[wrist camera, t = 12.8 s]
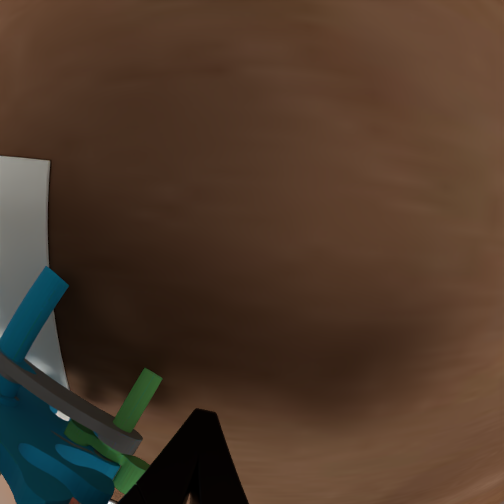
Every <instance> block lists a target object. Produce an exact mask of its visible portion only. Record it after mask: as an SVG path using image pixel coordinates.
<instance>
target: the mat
mask: <svg viewBox="0 0 504 504" xmlns="http://www.w3.org/2000/svg"><path fill="white" fill-rule="evenodd" d="M49 172H50V161H48V160H40V159H30V158H20V157H10V156H0V338H1V336H2V334H3V333H4V331H5V329H6V327H7V326H8V324H9V322H10V320H11V319H12V317H13V315H14V314H15V312H16V310H17V309H18V307H19V305H20V304H21V302H22V301H23V299H24V297H25V296H26V294H27V293H28V291H29V290H30V288H31V287H32V285H33V284H34V282H35V281H36V279H37V278H38V276H39V275H40V273H41V272H42V270H43V269H44V268H45V266H47V267H49V256H48V187H49ZM25 359H27V360H28V361H29V362H30V363H32V364H33V365H34V366H36V367H37V368H38V369H40V370H41V371H42V372H44V373H45V374H46V375H48V376H49V377H51V378H52V379H54V380H55V381H56V382H58V383H59V384H61V385H62V386H64V387H65V388H67V389H68V390H70V389H69V385H68V381H67V377H66V373H65V369H64V365H63V360H62V356H61V351H60V346H59V340H58V335H57V329H56V323H55V316H54V310H53V311H52V313H51V314H50V316H49V317H48V319H47V321H46V322H45V324H44V325H43V327H42V329H41V330H40V332H39V334H38V335H37V337H36V339H35V341H34V342H33V344H32V346H31V347H30V349H29V351H28V353H27V355H26V356H25ZM56 415H57V416H58V417H60V418H61V419H63V420H66V421H69V419H70V417H68V416H66V415H65V414H63V413H61V412H60V411H57V413H56Z"/></svg>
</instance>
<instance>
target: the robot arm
mask: <svg viewBox="0 0 504 504" xmlns="http://www.w3.org/2000/svg"><path fill="white" fill-rule="evenodd" d="M189 494H190V504H249V503H248V500H247V498H246V495H245V493H244V490H243V487H242V485H241V482H240V480H239V477H238V474H237V472H236V469H235V466H234V463H233V460H232V458H231V455H230V452H229V449H228V446H227V443H226V440H225V437H224V434H223V431H222V428H221V425H220V422H219V419H218V416H217V414H216V413H215V412H213V411H208V410H203V409H199V408H196V409H195V410H194V411H193V412H192V413H191V415H190V416H189V417H188V419H187V420H186V421H185V422H184V424H183V425H182V426H181V428H180V429H179V430H178V431H177V433H176V434H175V435H174V437H173V438H172V439H171V440H170V442H169V443H168V444H167V445H166V447H165V448H164V449H163V450H162V452H161V453H160V454H159V455H158V456H157V458H156V459H155V460H154V461H153V463H152V464H151V465H150V466H149V467H148V469H147V470H146V471H145V472H144V474H143V475H142V476H141V477H140V478H139V480H138V481H137V482H136V484H134V485H133V486H132V488H131V489H130V490H129V491H128V492H127V493H126V494H125V495H124V497H123V498H122V499H121V500H120V501H119V502H118V503H117V504H186V503H187V500H188V497H189Z"/></svg>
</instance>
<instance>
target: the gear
mask: <svg viewBox="0 0 504 504" xmlns="http://www.w3.org/2000/svg"><path fill="white" fill-rule="evenodd" d="M68 287H69V285H68V284H67V283H66V282H65V281H64V280H62V279H61V278H60V277H59V276H58V275H57V274H56V273H54V272H53V271H52V270H51V269H50V268H49V267H47V266H45V268H44V269H43V270H42V272H41V273H40V275H39V276H38V278H37V279H36V281H35V282H34V284H33V285H32V287H31V288H30V290H29V291H28V293H27V294H26V296H25V297H24V299H23V301H22V302H21V304H20V305H19V307H18V309H17V310H16V312H15V314H14V315H13V317H12V319H11V320H10V322H9V324H8V326H7V327H6V329H5V331H4V333H3V334H2V336H1V338H0V473H1V474H2V475H3V476H4V478H5V480H6V481H7V483H8V485H9V486H10V489H11V491H12V493H13V495H14V499H15V501H16V503H17V504H69V503H70V501H71V499H72V497H74V498H75V499H76V500H77V501H78V502H79V503H81V504H108V502H109V500H110V499H111V497H112V495H113V492H114V488H116V489H118V490H119V491H120V492H122V493H124V494H126V493H127V492H128V491H129V490H130V489H131V488H132V486H133V485H134V484H136V482H137V481H138V480H139V478H140V477H141V476H142V475H143V474H144V472H145V471H146V470H147V469H148V467H149V466H150V465H149V464H148V463H146V462H145V461H143V460H141V459H140V458H137V457H135V456H132V455H133V454H134V453H135V451H136V449H137V448H138V446H139V444H140V443H141V441H142V439H143V438H142V436H141V435H140V434H139V433H138V432H137V431H136V430H134V429H133V428H134V427H135V425H136V423H137V422H138V420H139V418H140V417H141V415H142V413H143V411H144V410H145V408H146V406H147V405H148V403H149V401H150V400H151V398H152V396H153V394H154V393H155V391H156V389H157V388H158V386H159V384H160V383H161V381H162V379H163V378H161V377H160V376H158V375H157V374H155V373H154V372H152V371H150V370H149V369H147V368H144V369H143V371H142V373H141V374H140V376H139V378H138V379H137V381H136V383H135V384H134V386H133V388H132V389H131V391H130V393H129V394H128V396H127V398H126V399H125V401H124V403H123V405H122V406H121V408H120V410H119V411H118V413H117V415H116V417H114V416H112V415H110V414H108V413H106V412H105V411H103V410H101V409H99V408H98V407H96V406H94V405H92V404H91V403H89V402H87V401H86V400H84V399H82V398H81V397H79V396H78V395H76V394H75V393H73V392H71V391H70V390H68V389H67V388H65V387H64V386H62V385H61V384H59V383H58V382H56V381H55V380H54V379H52V378H51V377H49V376H48V375H46V374H45V373H44V372H42V371H41V370H40V369H38V368H37V367H36V366H34V365H33V364H32V363H30V362H29V361H28V360H27V359H25V356H26V355H27V353H28V351H29V349H30V347H31V346H32V344H33V342H34V341H35V339H36V337H37V335H38V334H39V332H40V330H41V329H42V327H43V325H44V324H45V322H46V321H47V319H48V317H49V316H50V314H51V313H52V311H53V310H54V308H55V306H56V305H57V303H58V302H59V300H60V299H61V297H62V296H63V294H64V293H65V291H66V290H67V288H68ZM57 411H60V412H61V413H63V414H65V415H66V416H68V417H70V419H69V421H66V420H63V419H61V418H60V417H58V416H57V415H56V413H57ZM119 464H120V465H121V467H120V465H119ZM119 468H120V469H119ZM118 470H119V471H118ZM117 471H118V472H117ZM116 473H117V474H116ZM115 475H116V476H115ZM114 477H115V478H114ZM113 478H114V479H113ZM112 480H113V481H112ZM114 486H115V487H114Z"/></svg>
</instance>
